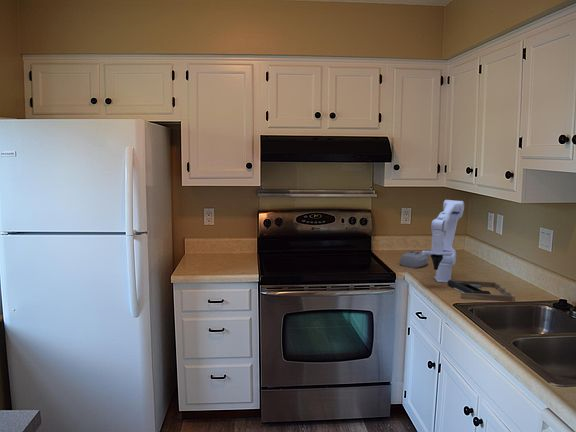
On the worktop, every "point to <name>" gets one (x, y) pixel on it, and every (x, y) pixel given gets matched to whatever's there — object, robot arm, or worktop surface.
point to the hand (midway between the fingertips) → (435, 269)
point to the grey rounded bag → (414, 259)
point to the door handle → (467, 288)
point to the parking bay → (505, 297)
